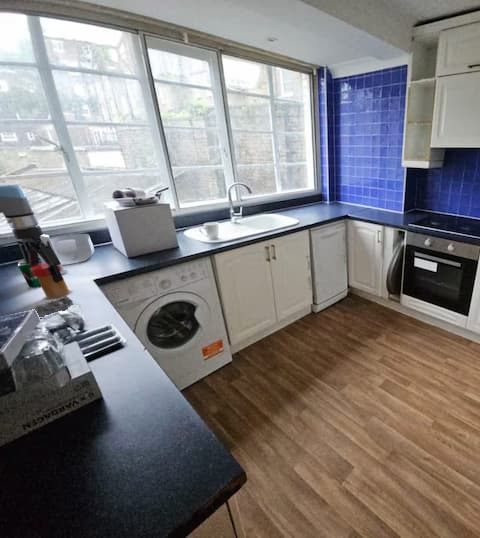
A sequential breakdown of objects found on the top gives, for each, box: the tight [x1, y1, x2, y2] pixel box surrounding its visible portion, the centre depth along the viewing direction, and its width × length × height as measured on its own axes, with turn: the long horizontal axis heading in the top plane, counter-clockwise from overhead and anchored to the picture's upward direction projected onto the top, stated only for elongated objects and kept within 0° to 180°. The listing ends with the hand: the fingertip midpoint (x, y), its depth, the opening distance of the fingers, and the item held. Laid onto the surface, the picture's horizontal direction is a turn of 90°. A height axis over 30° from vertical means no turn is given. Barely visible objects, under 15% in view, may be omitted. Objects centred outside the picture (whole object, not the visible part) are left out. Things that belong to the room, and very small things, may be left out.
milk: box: [38, 233, 66, 276], centre depth 141 cm, size 6×6×22 cm
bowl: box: [50, 233, 95, 266], centre depth 162 cm, size 20×19×12 cm
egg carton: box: [30, 295, 74, 317], centre depth 110 cm, size 11×8×4 cm
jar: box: [37, 272, 71, 300], centre depth 121 cm, size 7×7×12 cm
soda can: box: [17, 259, 41, 289], centre depth 130 cm, size 5×5×12 cm
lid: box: [30, 263, 61, 277], centre depth 119 cm, size 8×8×3 cm
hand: (51, 280), depth 121 cm, fingers closed on lid, 8 cm apart
